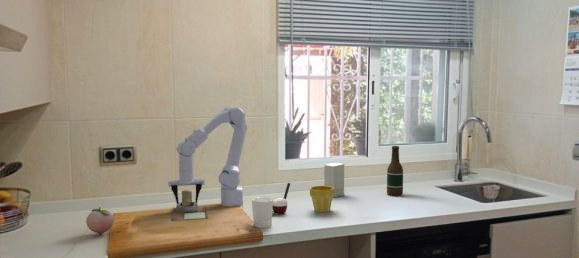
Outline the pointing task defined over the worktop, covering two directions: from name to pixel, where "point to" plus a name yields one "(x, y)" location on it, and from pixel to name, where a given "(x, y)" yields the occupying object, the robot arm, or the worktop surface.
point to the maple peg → (187, 198)
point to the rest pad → (194, 216)
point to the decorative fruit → (100, 221)
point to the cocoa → (281, 203)
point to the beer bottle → (395, 175)
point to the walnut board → (180, 216)
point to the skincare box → (334, 177)
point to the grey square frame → (186, 208)
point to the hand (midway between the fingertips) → (187, 202)
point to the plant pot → (322, 197)
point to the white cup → (262, 212)
